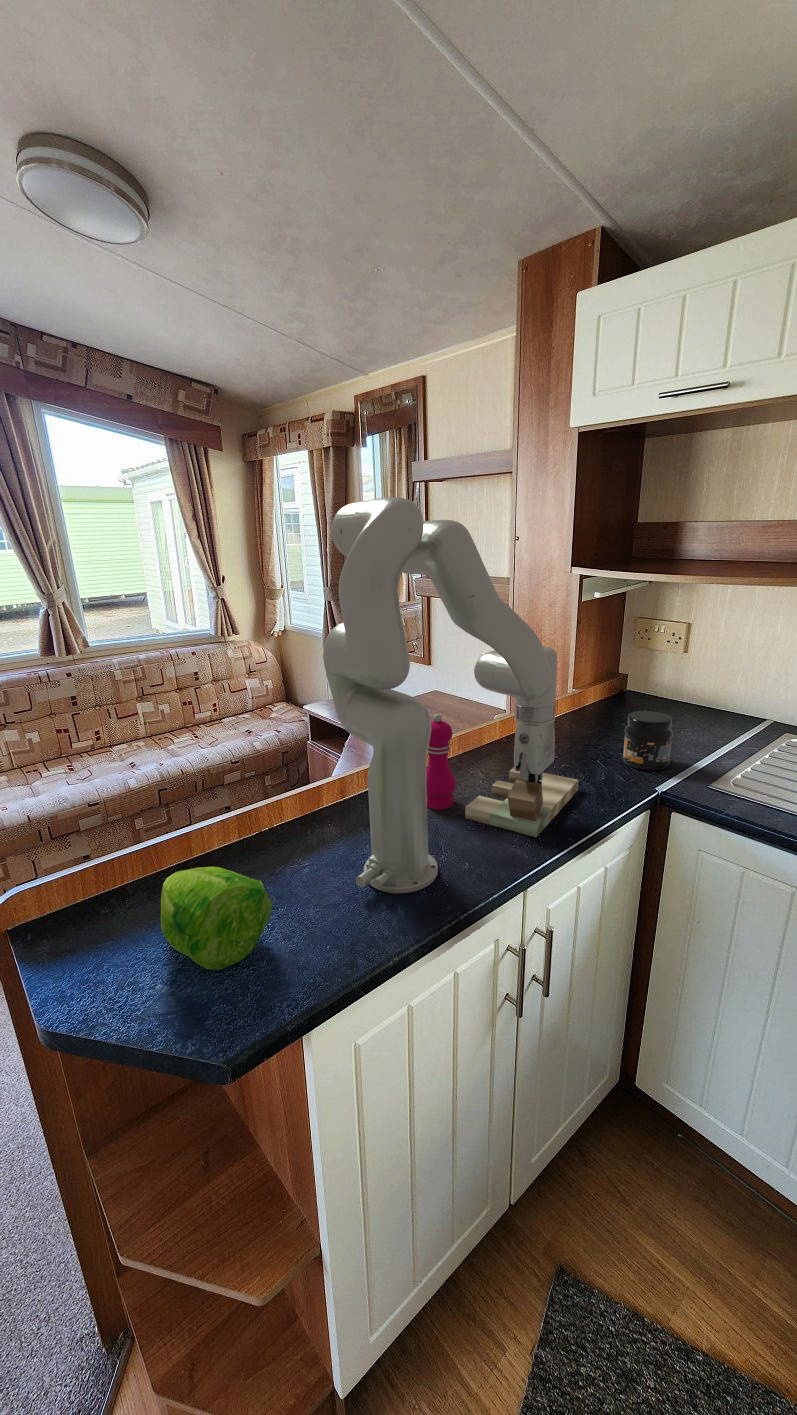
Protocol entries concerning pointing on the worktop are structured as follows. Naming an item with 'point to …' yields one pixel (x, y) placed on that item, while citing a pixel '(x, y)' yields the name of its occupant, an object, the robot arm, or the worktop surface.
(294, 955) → the worktop surface
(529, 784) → the walnut block
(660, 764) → the supplement container
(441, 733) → the pepper mill
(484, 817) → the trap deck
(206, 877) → the lettuce
